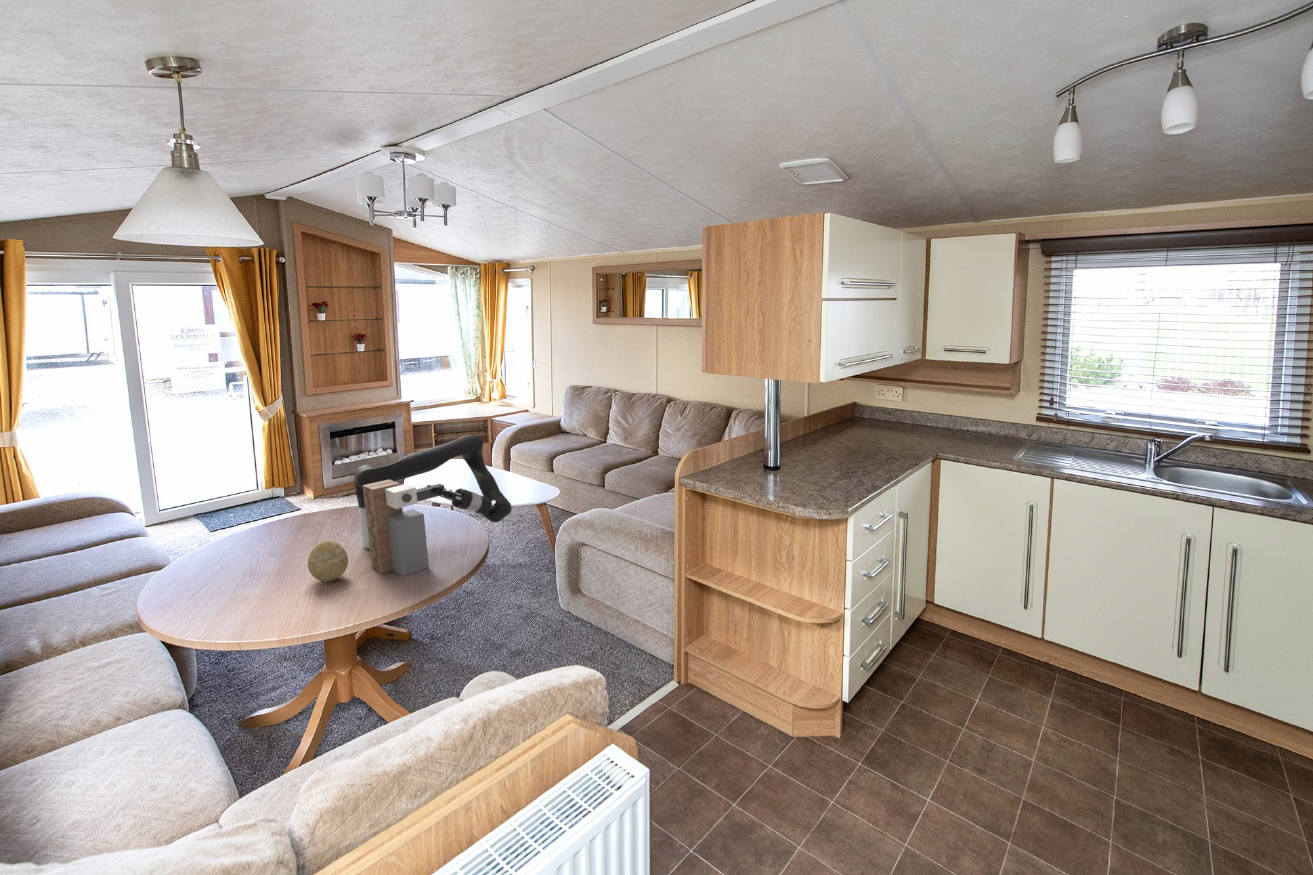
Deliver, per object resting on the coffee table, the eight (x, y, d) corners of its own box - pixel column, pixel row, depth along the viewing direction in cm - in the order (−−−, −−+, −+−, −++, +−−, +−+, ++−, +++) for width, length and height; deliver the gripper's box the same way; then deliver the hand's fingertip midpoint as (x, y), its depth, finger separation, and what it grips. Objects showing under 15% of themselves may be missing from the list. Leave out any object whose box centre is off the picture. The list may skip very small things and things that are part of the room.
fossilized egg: (357, 576, 227) (353, 537, 223) (324, 590, 216) (318, 550, 213) (336, 569, 233) (331, 531, 230) (302, 582, 222) (297, 543, 219)
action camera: (386, 504, 226) (384, 488, 225) (437, 491, 241) (435, 476, 239) (397, 509, 220) (395, 493, 219) (449, 495, 235) (447, 480, 234)
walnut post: (372, 567, 234) (362, 485, 227) (398, 559, 241) (389, 479, 235) (382, 573, 229) (372, 489, 222) (408, 565, 236) (399, 483, 229)
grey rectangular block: (392, 570, 232) (386, 516, 227) (418, 561, 239) (412, 509, 235) (403, 576, 227) (397, 521, 222) (428, 567, 234) (423, 513, 229)
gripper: (460, 488, 252) (423, 475, 239) (480, 494, 242) (443, 482, 230) (453, 505, 250) (416, 494, 238) (473, 513, 241) (435, 501, 228)
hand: (429, 488), depth 234 cm, fingers closed on action camera, 3 cm apart
